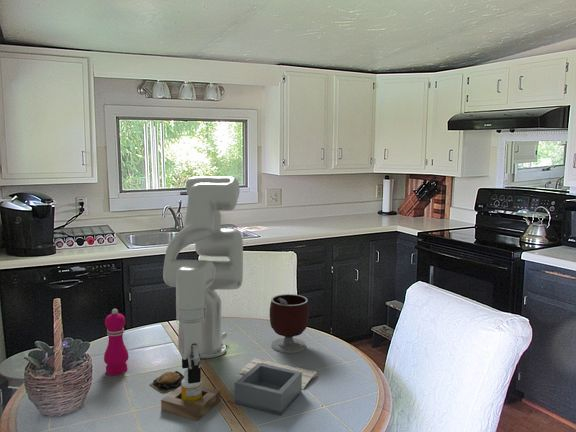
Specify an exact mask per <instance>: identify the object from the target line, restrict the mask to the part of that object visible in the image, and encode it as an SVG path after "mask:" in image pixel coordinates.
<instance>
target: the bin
mask: <svg viewBox="0 0 576 432" xmlns="http://www.w3.org/2000/svg"><path fill="white" fill-rule="evenodd" d="M301 393H302V372H298V371H293V370H288V369H284V368H279V367H275V366H270V365H266V364H261V363H258V364H257V365H256V366H254V367H253V368H252V369H251V370H250V371H248V372H247V373H246V374H245V375H242V377H240V378H239V379H238V380H237V381H235V382H234V404H235V405H240V406H243V407H246V408H250V409H255V410H259V411H262V412H266V413H270V414H274V415H276V416H277V415H278V416H282V415H283V414H284V413H285V412H286V411H287V409H288V408H289V407H290V406H291V405H292V403H294V401H295V400H297V398H298V397H299V395H300V394H301Z"/></svg>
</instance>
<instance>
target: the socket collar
mask: <svg viewBox="0 0 576 432" xmlns="http://www.w3.org/2000/svg"><path fill="white" fill-rule="evenodd" d="M221 401H222V391H221V389H217V388H215V387H214V388H213V387H210V386H209V387H208V386H206V385H202V398H200V399H199V400H198V401H197V402H195V403H193V402H189V401H185V400H181V386H180V387H178V388H177V389H174V390H172V392H171V391H170V393H169V394H167V395H166V396H164V397H163V398H161V400H160V404H161V405H160V409H161V411H162V412H166V413H170V414H172V415H176V416H179V417H183V418H186V419H190V420H194V421H196V422H197V421H199V420H201V418H203V416H204V415H206V414H207V413H208V412H209V411H210V410H212V409H213V408H214V407H216V405H217V404H219V403H220V402H221Z"/></svg>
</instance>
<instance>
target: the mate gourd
mask: <svg viewBox="0 0 576 432" xmlns="http://www.w3.org/2000/svg"><path fill="white" fill-rule="evenodd" d="M308 302H309V301H308V298H307V297H306V296H303V295H299V294H292V293H290V294H289V293H285V294H283V293H282V294H277V295H275V296H272V297H271V300H270V304H269V322H270V323H269V324H270V328H272V330H273V331H274V333H275V334H277V335H278V336H281V337H282V338H281V337H279V338H276V339H274V340H272V341H271V343H270V344H271V345H270V346H271V349H273V350H274V351H276V352H278V353H281V354H282V353H283V354H295V353H300V352H302V351H304V350H305V349H306V348H307V344H306V342H305V341H304V340H302V339H299V338H295V337H297V336H301V335H302V334H303V333H304V331H305V330H306V329H307V326H308V324H309V319H310V318H309V317H310V308H309V303H308Z"/></svg>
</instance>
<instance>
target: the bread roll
mask: <svg viewBox="0 0 576 432" xmlns="http://www.w3.org/2000/svg"><path fill="white" fill-rule="evenodd" d="M183 379H184V374H182V373H181V372H180V371H177V370H175V371H166V372H164V373H162V374H161V375H160V376H159V377H156V378H155V379H153V382H151V383H149V386H150V387H151V388H153V389H154V390H155V391H157V392H159V393H160V394H166V393H169V392H171V391H174V390H176V389H177V388H178V387H180V386H181V382H182V380H183Z"/></svg>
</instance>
